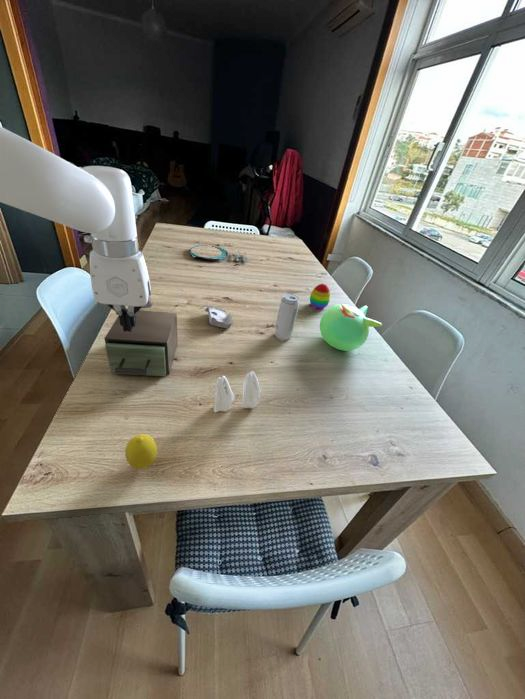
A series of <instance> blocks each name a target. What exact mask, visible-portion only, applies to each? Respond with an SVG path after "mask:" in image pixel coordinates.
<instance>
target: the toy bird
mask: <svg viewBox="0 0 525 699" xmlns="http://www.w3.org/2000/svg"><path fill="white" fill-rule="evenodd" d="M367 313H368V306H367V305H363V306H361V307H360V308H357V307H355V306H352V305H350V304H344V303H341V304H340V303H339V304H334V305H332V306H330V307H329V308H327V309H326V310H325V311H324V312H323V314H322V316H321V318H320V322H319V331H320V334H321V336H322V338H323V340H324V341H325V342H326V343H327V344H328V345H329V346H331V347H332V348H334V349H336V350H339V351H344V352H345V351H348V352H349V351H353V350H357V349H358V348H360V347H361V346H363V345H364V344H365V342H366V341H367V339H368V337H369V333H370V328H371V327H377V328H378V327H382V326H383V324H382V322H379V321H377V320H374V319H372V318H368V317H366V315H367Z"/></svg>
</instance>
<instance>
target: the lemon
mask: <svg viewBox="0 0 525 699" xmlns="http://www.w3.org/2000/svg"><path fill="white" fill-rule="evenodd" d="M124 453H125V454H124V455H125V460H126V462H127V463H128V465H129V466H130V467H132V468H133V469H137V470H144V469H146V468H147V469H148V468H149V467H150V466H151V465H152V464H153V463H154V462H155V460H156V458H157V455H158V446H157V443H156V441H155V440H154V438H153V437H152V436H151V435H148V434H146V433H142V434H141V433H140V434H137V435H134V436H133V437H131V438H130V440H128V442H127V444H126V447H125V452H124Z"/></svg>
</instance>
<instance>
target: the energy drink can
mask: <svg viewBox="0 0 525 699" xmlns="http://www.w3.org/2000/svg"><path fill="white" fill-rule="evenodd" d="M299 300H300V299H299V297H298V296H297V295H296V294H294V293H293V294H292V293H285V294H284V295H283V297H282V298H281V299H280V303H279V308H278V313H277V318H276V323H275V327H274V328H275V329H274V335H275V337H276V338H277V339H278V340H280V341H288V340H289V339H291V338H292V336H293V332H294V328H295V324H296V319H297V315H298V311H299V307H300V301H299Z"/></svg>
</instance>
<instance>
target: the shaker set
mask: <svg viewBox="0 0 525 699" xmlns="http://www.w3.org/2000/svg"><path fill="white" fill-rule="evenodd" d="M214 393H215V394H214V404H213V412H214V413H217V412H227V411H230V410H231V409H232V408H233V406H234V405H233V402H234V401H235V400H236V398H235V395H234V393H233V391H232V388H231V386H230V384H229V380H228V379H227V377H226V376H225V375H222V376H221V377H220V376H218V377H217V379H216V382H215V387H214ZM261 396H262V392H261V389H260V384H259V380H258V377H257V375H256V373H255V371H254V370H251V371H250V372H247V373H246V375H245V377H244V379H243V384H242V398H241V405H240V406H241V408H242V409H245V408H247V409H254V408H256V407H257V406H258V405H259V403H261V402H260V397H261Z"/></svg>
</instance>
